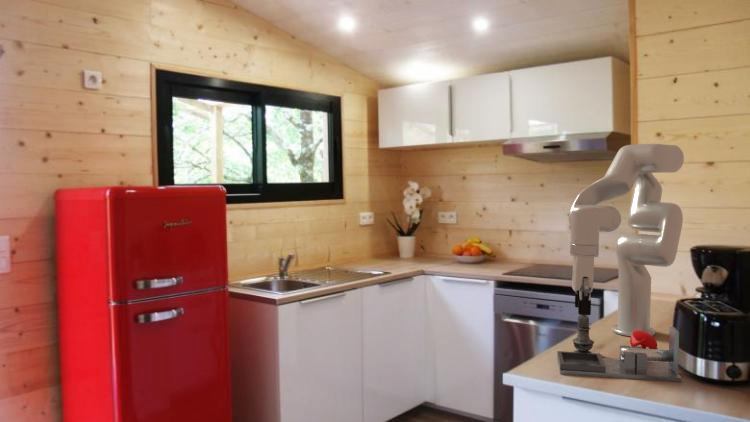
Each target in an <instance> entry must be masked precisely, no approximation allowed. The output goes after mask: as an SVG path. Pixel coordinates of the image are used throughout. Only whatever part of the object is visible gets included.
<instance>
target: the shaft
mask: <svg viewBox="0 0 750 422" xmlns="http://www.w3.org/2000/svg"><path fill="white" fill-rule="evenodd" d="M668 333H669V338H668V349H658V350H657V349H649V348H646V349H639V348H621V349H620V348H619V358H620V357H621V359H624V352H634V354H635V352H636V353H646V354H647V361H652V362H669V366H670V367H671V368H672V370H673V371H676V372H678V371H679V351H680V350H679V347H680V346H679V344H680V340H679V339H680V332H679V330H677V328H675V326H669V332H668Z"/></svg>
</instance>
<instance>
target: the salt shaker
mask: <svg viewBox="0 0 750 422" xmlns="http://www.w3.org/2000/svg"><path fill="white" fill-rule="evenodd" d="M576 328H577V336H576V337H575V338H574V339H572V340H571V341H572V343H573V347H574V348H575V349H576V350H574V351H573V352H582V353H593V352H592V351H590V350H592V348H593V346H594V344H595V341H594V340H592V339H590V330H591V327H590V319H589V315H578V317H577V326H576Z"/></svg>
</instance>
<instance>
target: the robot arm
mask: <svg viewBox="0 0 750 422" xmlns="http://www.w3.org/2000/svg"><path fill="white" fill-rule="evenodd" d="M684 157H685V156H684V152H683V150H682V149H681V147H680V146H679V145H674V144H662V143H637V144H626V145H624V146H622V147H621V148H619V150H618V151H617V153H616V154H615V156H614V157H613V160H612V162H611V164H610V165H609V167H608V169H607V171H606V172H605V174H604V176H603V177H602V178H600V179H598V180H596V181H594V182H593V183H592V184H590V185H588V186H586V187H585V188H584V189H582V191H580V192H579V193H578V195H577V196H576V198H575V199H574V202H573V203H572V205H571V207H570V209H569V213H568V221H569V225H570V243H569V245H570V247H569V250H570V252H569V256H571V257H573V258H572V259H573V260H572V272H571V274H572V275H571V288H572V290H573V291H574V292H575V293H574V307H575V308H576V309H577V308H578V309H577V312H578V316H580V315H586V316H590V315H591V314H592V299H591V297H592V296H591V293H592V292H593V288H594V277H595V274H594V272H595V258H598V257H599V251H600V249H599V245H600V232H601V233H602V232H603V233H611V232H614V231H616V230H617V229H618V228H619V226H620V225H621V223H622V215H621V212H620V211H619V210H618V209H617V208H616V207H615V206H610V205H602V204H601V203H603V202H607V201H610V200H614V199H618V198H619V197H622V196H625V195H627V194H629V193H630V192H631V191H632V194H631V195H632V196H631V199H630V205H629V209H628V213H627V225H628V228H630V229H632V230H634V231H638V232H645V233H646V232H647V233H648V232H649V233H658V234H659V233H660V234H659V235H658V234H647V233H646V234H645V233H634V232H633V233H624V234H622V235H621V236H619V237H618V238H617V240H616V242H615V253H616V259H617V265H618V267H617V269H618V282H617V283H618V285H617V287H618V289H617V293H618V294H617V295H618V296H617V324H614V325H613V326H612V327H611V328H612V329H611V330H612V332H614V333H615V334H617V335H622V336H626V337H631V336H632V333H633V332H634V331H636V330H641V331H645V332H647V333H649V334H650V335H651V336H653V337H654V335H656V329H654V328H653V327H651V307H652V306H651V305H652V303H651V302H652V301H651V299H652V293H651V292H652V278H651V275H650V272H649V271H648V269H647V268H646V266H652V267H663V268H665V267H666V268H667V267H670V266H672V265H673V264H674V262H675V260H676V257H677V252H678V249H679V243H680V238H681V233H682V229H683V228H682V227H683V221H684V219H683V215H684V214H683V211H682V209H681V207H680V206H679V205H678V204H676V203H674V202H673V203H672V202H663V201H661V200H662V195H663V187H662V185H661V183H660V182H659V180H658V179H657V178H656V176H655V175H654V173H656V174H657V173H660V174H661V173H671V174H672V173H677V172H678V171H680V169H681V168H682V167H683V164H684V161H685V160H684V159H685V158H684ZM632 188H633V189H632ZM599 204H601V205H599Z"/></svg>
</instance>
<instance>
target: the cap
mask: <svg viewBox="0 0 750 422" xmlns="http://www.w3.org/2000/svg"><path fill="white" fill-rule="evenodd" d="M629 344H630V347H631V346H640V347H642V349H647V348H648V349H657V350H659V348H658V342H657V340H656V339H655V337H654V335H653V336H651V335H650V334H649V333H647V332H645V331H641V330H636V331H634V332H633V333H632V336H630V339H629Z"/></svg>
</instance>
